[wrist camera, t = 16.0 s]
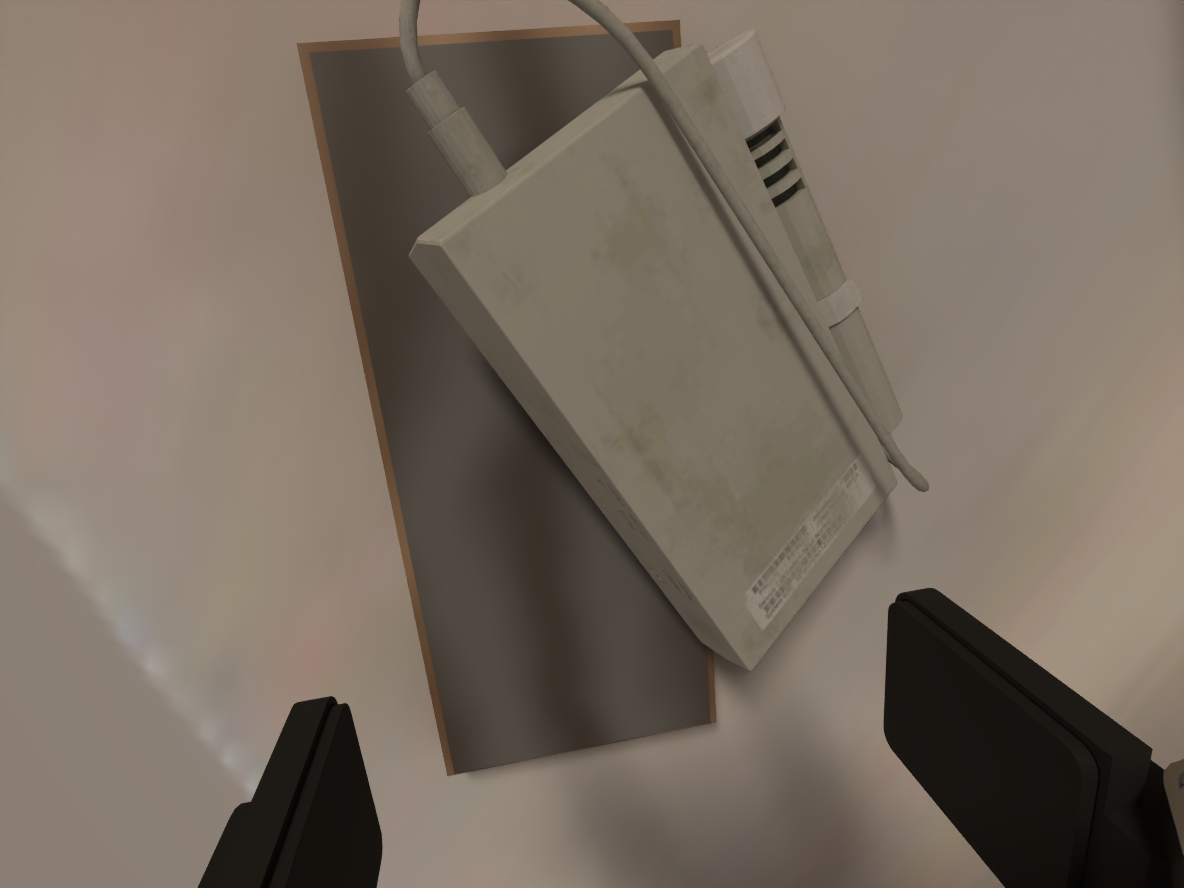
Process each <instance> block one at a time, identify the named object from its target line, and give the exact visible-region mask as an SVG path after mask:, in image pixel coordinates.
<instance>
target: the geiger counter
mask: <svg viewBox="0 0 1184 888" xmlns="http://www.w3.org/2000/svg"><path fill="white" fill-rule="evenodd" d="M568 1H570V2H572V3H573V4H575V5H576V6H577V7H578V8H580V9H581V10H582V11H584V12H585V13H586V14H588V15H589V16H590V17H592V18H593V19H594V20H596V21H597V22H598V23H599V24H600V25H601V26H602V27H603V28H604V29H605V30H606V31H607V32H608V33H609V34H610V35H611V36H612V37H613V38H614V39H615V40H616V41H617V42H618V43H619V44H620V45H621V46H622V47H623V48H624V49H625V51H626V52H627V53H628V54H629V56H630V57H631V58H632V60H633V61H634V62H635V63H636V65H637V66H638V67H639V68H640V70H639V71H637V72H636V73H635V74H633V75H632V76H631V77H629V78H628V79H627V80H625V81H624V82H623V83H621V84H620V85H619V86H618V87H616V88H615V89H614V90H612V91H611V92H610V93H608V94H607V95H606V96H604V97H603V98H602V99H600V100H599V101H598V102H596V103H595V104H594V105H592V106H591V107H590V108H588V109H587V110H586V111H584V112H583V113H582V114H580V115H579V116H578V117H576V118H575V119H574V120H572V121H571V122H570V123H568V124H567V125H566V126H565V127H563V128H562V129H561V130H559V131H558V132H557V133H555V134H554V135H553V136H551V137H550V138H549V139H547V140H546V141H545V142H543V143H542V144H541V145H539V146H538V147H537V148H535V149H534V150H533V151H531V152H530V153H529V154H527V155H526V156H525V157H523V158H522V159H521V160H519V161H518V162H517V163H516V164H514V165H513V166H512V167H510V168H509V169H508V170H505V169H504V167H503V166H502V164H501V163H500V161H499V159H498V158H497V156H496V155H495V153H494V152H493V150H492V148H491V147H490V145H489V144H488V142H487V141H486V139H485V137H484V136H483V134H482V133H481V131H480V130H479V128H478V126H477V125H476V123H475V122H474V120H473V119H472V117H471V115H470V114H469V112H468V111H467V109H466V108H465V107H463V108H461V109H460V107H459V106H458V104H457V103H456V101H455V99H454V98H453V96H452V95H451V93H450V92H449V90H448V88H447V87H446V85H445V84H444V82H443V81H442V79H441V78H440V76H439V74H438V73H437V71H433V72H431V73H429V74H428V75H426V73H425V70H424V68H423V65H422V62H421V58H420V55H419V51H418V44H417V17H418V10H419V4H420V0H402V2H401V9H400V16H399V29H400V48H401V52H402V55H403V59H404V62H405V66H406V69H407V72H408V74H409V77H410V79H411V81H412V83H413V86H411V87H410V88H409V89H408V90H407V91H406V93H405V94H406V95H407V97H408V98H409V100H410V101H411V102H412V104H413V105H414V107H415V108H416V110H417V111H418V113H419V114H420V116H421V117H422V119H423V120H424V122H425V123H426V125H427V126H428V128H429V129H430V132H428V134H427V135H428V136H429V138H430V139H431V141H432V142H433V144H434V145H435V147H436V148H437V150H438V151H439V153H440V154H441V156H442V157H443V159H444V160H445V162H446V163H447V165H448V166H449V168H450V169H451V170H452V172H453V173H454V175H455V176H456V178H457V179H458V181H459V182H460V184H461V185H462V187H463V188H464V190H465V191H466V193H467V194H468V196H469V197H470V198H469V199H468V200H466V201H465V202H464V203H463V204H461V205H460V206H459V207H457V208H456V209H455V210H453V211H452V212H451V213H449V214H448V215H447V216H445V217H444V218H443V219H441V220H440V221H439V222H437V223H436V224H435V225H433V226H432V227H431V228H429V229H428V230H427V231H425V232H424V233H423V234H421V235H420V236H419V237H418V238H417V240H416V242H415V244H414V246H413V248H412V250H411V251H410V253H409V258H410V259H411V261H412V262H413V263H414V264H415V266H416V267H417V268H418V270H419V271H420V272H421V274H422V275H423V276H424V278H425V279H426V280H427V282H428V283H429V284H430V286H431V287H432V288H433V290H434V291H435V292H436V294H437V295H438V296H439V297H440V299H441V300H442V301H443V303H444V304H445V305H446V307H447V308H448V309H449V311H450V312H451V313H452V315H453V316H454V317H455V319H456V320H457V321H458V323H459V324H460V325H461V326H462V328H463V329H464V330H465V332H466V333H467V334H468V336H469V337H470V338H471V340H472V341H473V342H474V344H475V345H476V346H477V348H478V349H479V350H480V352H481V353H482V354H483V355H484V357H485V358H486V359H487V361H488V362H489V363H490V365H491V366H492V367H493V369H494V370H495V371H496V373H497V374H498V375H499V377H500V378H501V379H502V381H503V382H504V383H505V384H506V386H507V387H508V388H509V390H510V391H511V392H512V394H513V395H514V396H515V398H516V399H517V400H518V402H519V403H520V404H521V406H522V407H523V408H524V410H525V411H526V412H527V413H528V415H529V416H530V417H531V419H532V420H533V421H534V423H535V424H536V425H537V427H538V428H539V429H540V431H541V432H542V433H543V435H544V436H545V437H546V439H547V440H548V441H549V443H550V444H551V445H552V446H553V448H554V449H555V450H556V452H557V453H558V454H559V456H560V457H561V458H562V460H563V461H564V462H565V464H566V465H567V466H568V468H569V469H570V470H571V472H572V473H573V474H574V475H575V477H576V478H577V479H578V481H579V482H580V483H581V485H582V486H583V487H584V489H585V490H586V491H587V493H588V494H589V495H590V497H591V498H592V499H593V501H594V502H595V503H596V504H597V506H598V507H599V508H600V510H601V511H602V512H603V514H604V515H605V516H606V518H607V519H608V520H609V522H610V523H611V524H612V526H613V527H614V528H615V530H616V531H617V532H618V533H619V535H620V536H621V537H622V539H623V540H624V541H625V543H626V544H627V545H628V547H629V548H630V549H631V551H632V552H633V553H634V555H635V556H636V557H637V559H638V560H639V561H640V562H641V564H642V565H643V566H644V568H645V569H646V570H647V572H648V573H649V574H650V576H651V577H652V578H653V580H654V581H655V582H656V584H657V585H658V586H659V588H660V589H661V590H662V591H663V593H664V594H665V595H666V597H667V598H668V599H669V601H670V602H671V603H672V605H673V606H674V607H675V609H676V610H677V611H678V613H679V614H680V615H681V617H682V618H683V619H684V621H685V622H686V623H687V624H688V626H689V627H690V628H691V630H692V631H693V632H694V634H695V635H696V636H697V638H698V639H699V640H700V641H701V642H702V643H703V644H705V645H706V646H708V647H709V648H711V649H712V650H713V651H715V652H716V653H718V654H719V655H721V656H722V657H723V658H725V659H726V660H728V661H730V662H732V663H734V664H736V665H738V666H740V667H742V668H744V669H746V670H748V671H752V670H753V669H754V668H755V666H756V665H757V664H758V663H759V661H760V660H761V659H762V657H763V656H764V655H765V654H766V652H767V651H768V650H769V648H770V647H771V646H772V645H773V643H774V642H775V641H776V639H777V638H778V637H779V636H780V634H781V633H782V632H783V630H784V629H785V628H786V627H787V625H788V624H789V623H790V621H791V620H792V619H793V618H794V616H795V615H796V614H797V612H798V611H799V610H800V609H801V607H802V606H803V605H804V603H805V602H806V601H807V600H808V598H809V597H810V596H811V594H812V593H813V592H814V591H815V589H816V588H817V587H818V585H819V584H820V583H821V581H822V580H823V579H824V578H825V576H826V575H827V574H828V572H829V571H830V570H831V569H832V567H833V566H834V565H835V563H836V562H837V561H838V560H839V558H840V557H841V556H842V554H843V553H844V552H845V551H846V549H847V548H848V547H849V545H850V544H851V543H852V542H853V540H854V539H855V538H856V536H857V535H858V534H859V533H860V531H861V530H862V529H863V527H864V526H865V525H866V524H867V522H868V521H869V520H870V518H871V517H872V516H873V515H874V513H875V512H876V511H877V509H878V508H879V507H880V506H881V504H882V503H883V502H884V500H885V499H886V498H887V497H888V495H889V494H890V493H891V491H892V490H893V489H894V487H895V486H896V485H897V480H896V478H895V476H894V473H893V471H892V469H891V467H890V464H889V462H890V463H891V464H893V465H894V466H895V467H896V468H898V469H899V470H900V471H901V473H902V474H903V475H904V477H905V478H906V479H907V480H908V481H909V482H910V483H911V485H912V486H913V487H915V488H916V489H917V490H919V491H921V492H926V491H928V489H929V484H928V482H927V480H926V479H925V478H924V477H923V476H922V475H921V474H920V473H919V472H918V471H917V470H916V469H914V468H913V467H912V466H911V465H910V464H909V463H908V462H907V460H906V459H905V457H904V456H903V455H902V453H901V452H900V450H899V449H898V447H897V446H896V444H895V442H894V441H893V439H892V438H891V436H890V434H889V432H891V431H893V430H894V429H895V428H896V427H897V426H898V425H899V423H900V422H901V420H902V412H901V410H900V407H899V405H898V403H897V400H896V398H895V395H894V393H893V391H892V388H891V386H890V383H889V381H888V378H887V376H886V374H885V371H884V369H883V366H882V364H881V362H880V359H879V357H878V354H877V352H876V349H875V347H874V345H873V342H872V340H871V337H870V335H869V332H868V330H867V328H866V325H865V323H864V320H863V318H862V316H861V313H860V311H859V308H858V305H859V304H860V303H861V302H862V295H861V291H860V289H859V286H858V284H857V283H856V281H855V280H853V279H850V280H847V279H846V277H845V274H844V272H843V270H842V267H841V265H840V262H839V260H838V257H837V255H836V253H835V250H834V248H833V245H832V243H831V241H830V238H829V236H828V233H827V231H826V228H825V226H824V224H823V221H822V219H821V216H820V214H819V212H818V209H817V207H816V204H815V202H814V199H813V197H812V195H811V192H810V190H809V187H808V185H807V182H806V180H805V178H804V175H803V173H802V170H801V168H800V166H799V163H798V161H797V158H796V156H795V153H794V151H793V149H792V146H791V144H790V141H789V139H788V137H787V134H786V132H785V129H784V127H783V124H782V122H781V120H780V117H779V115H780V114H781V113H782V112H783V111H784V110H785V108H786V105H785V102H784V100H783V97H782V95H781V92H780V90H779V87H778V85H777V82H776V80H775V77H774V75H773V72H772V70H771V67H770V65H769V63H768V60H767V58H766V55H765V53H764V50H763V48H762V45H761V43H760V40H759V38H758V35H757V33H756V31H755V30H753V29H750V30H748V31H745V32H744V33H742V34H740V35H738V36H736V37H734V38H733V39H731V40H729V41H728V42H726V43H725V44H723V45H721V46H720V47H718V48H717V49H715V50H714V51H712V52H711V53H709V54H708V55H707V54H706V52H705V49H704V47H703V45H702V44H701V43H695V44H691V45H687V46H683V47H679V48H675V49H671V50H667V51H664V52H663V53H661V54H660V55H659V56H657V57H656V58H655V59H652V58H651V57H650V55H649V54H648V53H647V51H646V50H645V49H644V48H643V46H642V45H641V44H640V42H639V41H638V40H637V38H636V37H635V36H634V35H633V33H632V32H631V31H630V30H629V29H628V28H627V27H626V26H625V25H624V24H623V23H622V22H621V21H620V20H619V19H618V18H617V17H616V16H615V15H614V14H613V13H612V12H611V11H610V10H609V9H608V8H607V7H606V6H605V5H604V4H602V3H601V2H600V1H599V0H568ZM888 461H889V462H888Z"/></svg>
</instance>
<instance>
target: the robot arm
mask: <svg viewBox="0 0 1184 888" xmlns="http://www.w3.org/2000/svg"><path fill="white" fill-rule="evenodd" d="M884 733H885V737H886V740H887V742H888V744H889V746H890V748H891V749H892V750H893V752H894V753H895V754H896V755H897V757H898V758H899V759H900V760H901V762H902V763H903V764H904V765H905V766H906V768H907V769H908V770H909V771H910V772H911V774H912V775H913V776H914V777H915V779H916V780H917V781H918V782H919V783H920V785H921V786H922V787H923V788H924V789H925V791H926V792H927V793H928V794H929V796H930V797H931V798H932V799H933V800H934V802H935V803H936V804H937V805H938V806H939V808H940V809H941V810H942V811H943V813H944V814H945V815H946V816H947V817H948V819H949V820H950V821H951V822H952V824H953V825H954V826H955V827H956V828H957V830H958V831H959V832H960V833H961V834H962V836H963V837H964V838H965V839H966V841H967V842H968V843H969V844H970V845H971V847H972V848H973V849H974V850H975V851H976V853H977V854H978V855H979V856H980V858H981V859H982V860H983V861H984V862H985V864H986V865H987V866H988V867H989V868H990V870H991V871H992V872H993V873H994V875H995V876H996V877H997V878H998V879H999V881H1000V882H1001V883H1002V884H1003V885H1004V887H1005V888H1184V759H1183V760H1180V761H1177V762H1174V763H1171V764H1170V765H1169V766H1168V767H1167V768H1166V769H1165V770H1164V769H1162V768H1161V767H1160V766H1158V765H1157V764H1156V763H1154V762H1153V761H1152V760H1151V754H1152V748H1151V747H1149V746H1148V745H1146V744H1145V743H1144V742H1142V741H1141V740H1140V739H1138V738H1137V737H1136V736H1134V735H1133V734H1132V733H1130V732H1129V731H1128V730H1126V729H1125V728H1123V727H1122V726H1121V725H1119V724H1118V723H1117V722H1115V721H1114V720H1113V719H1111V718H1110V717H1109V716H1107V715H1106V714H1104V713H1103V712H1102V711H1100V710H1099V709H1098V708H1096V707H1095V706H1094V705H1092V704H1091V703H1090V702H1088V701H1087V700H1085V699H1084V698H1083V697H1081V696H1080V695H1079V694H1077V693H1076V692H1075V691H1073V690H1072V689H1071V688H1069V687H1068V686H1067V685H1065V684H1064V683H1062V682H1061V681H1060V680H1058V679H1057V678H1056V677H1054V676H1053V675H1052V674H1050V673H1049V672H1048V671H1046V670H1045V669H1043V668H1042V667H1041V666H1039V665H1038V664H1037V663H1035V662H1034V661H1033V660H1031V659H1030V658H1029V657H1027V656H1026V655H1025V654H1023V653H1022V652H1020V651H1019V650H1018V649H1016V648H1015V647H1014V646H1012V645H1011V644H1010V643H1008V642H1007V641H1006V640H1004V639H1003V638H1001V637H1000V636H999V635H997V634H996V633H995V632H993V631H992V630H991V629H989V628H988V627H987V626H985V625H984V624H983V623H981V622H980V621H978V620H977V619H976V618H974V617H973V616H972V615H970V614H969V613H968V612H966V611H965V610H964V609H962V608H961V607H959V606H958V605H957V604H955V603H954V602H953V601H951V600H950V599H949V598H947V597H946V596H945V595H943V594H942V593H941V592H939V591H938V590H936V589H934V588H926V589H920V590H915V591H909V592H904V593H900V594H899V595H898V596H897V598H896V600H895V603H892V604H891V605H890V606H889V610H888V629H887V654H886V678H885V703H884ZM381 859H382V834H381V829H380V825H379V821H378V817H377V813H376V809H375V805H374V801H373V798H372V794H371V790H370V786H369V782H368V778H367V774H366V770H365V766H364V762H363V758H362V754H361V750H360V746H359V742H358V738H357V734H356V730H355V726H354V722H353V718H352V714H351V711H350V708H349V706H348V704H346V703H344V704H338V703H337V701H336V699H335V698H334V697H332V696H330V697H324V698H319V699H313V700H308V701H302V702H297V703H295V704H294V705H293V707H292V709H291V711H290V713H289V716H288V718H287V720H286V722H285V725H284V727H283V729H282V732H281V734H280V736H279V739H278V741H277V743H276V746H275V748H274V750H273V752H272V755H271V757H270V759H269V762H268V764H267V766H266V769H265V771H264V773H263V776H262V778H261V780H260V782H259V785H258V787H257V789H256V792H255V794H254V796H253V799H252V801H251V802H247V803H242V804H240V805H239V806H238V807H237V808H235V810H234V812H233V813H232V815H231V817H230V819H229V820H228V823H227V825H226V827H225V829H224V831H223V834H222V836H221V838H220V840H219V842H218V844H217V847H216V849H215V851H214V853H213V856H212V858H211V860H210V862H209V864H208V866H207V868H206V871H205V873H204V875H203V877H202V879H201V881H200V884H199V886H198V888H377V882H378V876H379V871H380V865H381Z"/></svg>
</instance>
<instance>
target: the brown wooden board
mask: <svg viewBox="0 0 1184 888" xmlns="http://www.w3.org/2000/svg"><path fill="white" fill-rule="evenodd" d="M623 24H624V25H625V26H626V27H627V28H628V29H629V30H630V31H631V32H632V33H633V35H634V36H635V37H636V38H637V40H638V41H639V42H640V44H641V45H642V46H643V48H644V49H645V50H646V51H647V53H648V54H649V55H650V57H651V58H652V59H655V58H656V57H657V56H659V55H660V54H661V53H663V52H664V51H667V50H671V49H675V48H679V47H681V36H680V20H672V21H655V22H639V23H623ZM417 44H418V51H419V55H420V58H421V62H422V65H423V68H424V70H425V73H426V75H428V74H429V73H431V72H433V71H437V73H438V74H439V76H440V78H441V79H442V81H443V82H444V84H445V85H446V87H447V88H448V90H449V92H450V93H451V95H452V96H453V98H454V99H455V101H456V103H457V104H458V106H459V107H460V109H461V108H463V107H465V108H466V109H467V111H468V112H469V114H470V115H471V117H472V119H473V120H474V122H475V123H476V125H477V126H478V128H479V130H480V131H481V133H482V134H483V136H484V137H485V139H486V141H487V142H488V144H489V145H490V147H491V148H492V150H493V152H494V153H495V155H496V156H497V158H498V159H499V161H500V163H501V164H502V166H503V167H504V169H505V170H508V169H509V168H510V167H512V166H513V165H514V164H516V163H517V162H518V161H519V160H521V159H522V158H523V157H525V156H526V155H527V154H529V153H530V152H531V151H533V150H534V149H535V148H537V147H538V146H539V145H541V144H542V143H543V142H545V141H546V140H547V139H549V138H550V137H551V136H553V135H554V134H555V133H557V132H558V131H559V130H561V129H562V128H563V127H565V126H566V125H567V124H568V123H570V122H571V121H572V120H574V119H575V118H576V117H578V116H579V115H580V114H582V113H583V112H584V111H586V110H587V109H588V108H590V107H591V106H592V105H594V104H595V103H596V102H598V101H599V100H600V99H602V98H603V97H604V96H606V95H607V94H608V93H610V92H611V91H612V90H614V89H615V88H616V87H618V86H619V85H620V84H621V83H623V82H624V81H625V80H627V79H628V78H629V77H631V76H632V75H633V74H635V73H636V72H637V71H639V70H640V68H639V67H638V66H637V65H636V63H635V62H634V61H633V60H632V58H631V57H630V56H629V54H628V53H627V52H626V51H625V49H624V48H623V47H622V46H621V45H620V44H619V43H618V42H617V41H616V40H615V39H614V38H613V37H612V36H611V35H610V34H609V33H608V32H607V31H606V30H605V29H604V28H603V27H602V26H601V25H590V26H574V27H557V28H541V29H525V30H509V31H492V32H476V33H460V34H443V35H427V36H417ZM297 47H298V52H299V57H300V62H301V66H302V71H303V76H304V81H305V86H306V91H307V96H308V100H309V105H310V110H311V115H312V120H313V125H314V130H315V134H316V139H317V144H318V149H319V154H320V159H321V164H322V168H323V173H324V178H325V183H326V188H327V193H328V198H329V202H330V207H331V212H332V217H333V222H334V227H335V232H336V237H337V241H338V246H339V251H340V256H341V261H342V266H343V271H344V275H345V280H346V285H347V290H348V295H349V300H350V305H351V309H352V314H353V319H354V324H355V329H356V334H357V339H358V343H359V348H360V353H361V358H362V363H363V368H364V373H365V378H366V382H367V387H368V392H369V397H370V402H371V407H372V412H373V416H374V421H375V426H376V431H377V436H378V441H379V446H380V450H381V455H382V460H383V465H384V470H385V475H386V480H387V484H388V489H389V494H390V499H391V504H392V509H393V514H394V519H395V523H396V528H397V533H398V538H399V543H400V548H401V553H402V557H403V562H404V567H405V572H406V577H407V582H408V587H409V591H410V596H411V601H412V606H413V611H414V616H415V621H416V625H417V630H418V635H419V640H420V645H421V650H422V655H423V660H424V664H425V669H426V674H427V679H428V684H429V689H430V694H431V698H432V703H433V708H434V713H435V718H436V723H437V728H438V732H439V737H440V742H441V747H442V752H443V757H444V762H445V766H446V771H447V776H451V775H456V774H461V773H466V772H471V771H476V770H481V769H486V768H491V767H496V766H501V765H506V764H511V763H516V762H520V761H525V760H530V759H535V758H540V757H545V756H550V755H555V754H560V753H565V752H570V751H575V750H580V749H585V748H590V747H595V746H600V745H605V744H610V743H615V742H620V741H625V740H630V739H635V738H640V737H645V736H650V735H655V734H660V733H665V732H670V731H675V730H680V729H685V728H690V727H695V726H700V725H705V724H710V723H715V722H716V709H715V690H714V670H713V651H712V649H711V648H709V647H708V646H706V645H705V644H703V643H702V642H701V641H700V640H699V639H698V638H697V636H696V635H695V634H694V632H693V631H692V630H691V628H690V627H689V626H688V624H687V623H686V622H685V621H684V619H683V618H682V617H681V615H680V614H679V613H678V611H677V610H676V609H675V607H674V606H673V605H672V603H671V602H670V601H669V599H668V598H667V597H666V595H665V594H664V593H663V591H662V590H661V589H660V588H659V586H658V585H657V584H656V582H655V581H654V580H653V578H652V577H651V576H650V574H649V573H648V572H647V570H646V569H645V568H644V566H643V565H642V564H641V562H640V561H639V560H638V559H637V557H636V556H635V555H634V553H633V552H632V551H631V549H630V548H629V547H628V545H627V544H626V543H625V541H624V540H623V539H622V537H621V536H620V535H619V533H618V532H617V531H616V530H615V528H614V527H613V526H612V524H611V523H610V522H609V520H608V519H607V518H606V516H605V515H604V514H603V512H602V511H601V510H600V508H599V507H598V506H597V504H596V503H595V502H594V501H593V499H592V498H591V497H590V495H589V494H588V493H587V491H586V490H585V489H584V487H583V486H582V485H581V483H580V482H579V481H578V479H577V478H576V477H575V475H574V474H573V473H572V472H571V470H570V469H569V468H568V466H567V465H566V464H565V462H564V461H563V460H562V458H561V457H560V456H559V454H558V453H557V452H556V450H555V449H554V448H553V446H552V445H551V444H550V443H549V441H548V440H547V439H546V437H545V436H544V435H543V433H542V432H541V431H540V429H539V428H538V427H537V425H536V424H535V423H534V421H533V420H532V419H531V417H530V416H529V415H528V413H527V412H526V411H525V410H524V408H523V407H522V406H521V404H520V403H519V402H518V400H517V399H516V398H515V396H514V395H513V394H512V392H511V391H510V390H509V388H508V387H507V386H506V384H505V383H504V382H503V381H502V379H501V378H500V377H499V375H498V374H497V373H496V371H495V370H494V369H493V367H492V366H491V365H490V363H489V362H488V361H487V359H486V358H485V357H484V355H483V354H482V353H481V352H480V350H479V349H478V348H477V346H476V345H475V344H474V342H473V341H472V340H471V338H470V337H469V336H468V334H467V333H466V332H465V330H464V329H463V328H462V326H461V325H460V324H459V323H458V321H457V320H456V319H455V317H454V316H453V315H452V313H451V312H450V311H449V309H448V308H447V307H446V305H445V304H444V303H443V301H442V300H441V299H440V297H439V296H438V295H437V294H436V292H435V291H434V290H433V288H432V287H431V286H430V284H429V283H428V282H427V280H426V279H425V278H424V276H423V275H422V274H421V272H420V271H419V270H418V268H417V267H416V266H415V264H414V263H413V262H412V261H411V259H410V258H409V253H410V251H411V250H412V248H413V246H414V244H415V242H416V240H417V238H418V237H419V236H420V235H421V234H423V233H424V232H425V231H427V230H428V229H429V228H431V227H432V226H433V225H435V224H436V223H437V222H439V221H440V220H441V219H443V218H444V217H445V216H447V215H448V214H449V213H451V212H452V211H453V210H455V209H456V208H457V207H459V206H460V205H461V204H463V203H464V202H465V201H466V200H468V199H469V198H470V197H469V196H468V194H467V193H466V191H465V190H464V188H463V187H462V185H461V184H460V182H459V181H458V179H457V178H456V176H455V175H454V173H453V172H452V170H451V169H450V168H449V166H448V165H447V163H446V162H445V160H444V159H443V157H442V156H441V154H440V153H439V151H438V150H437V148H436V147H435V145H434V144H433V142H432V141H431V139H430V138H429V136H428V135H427V134H428V132H430V129H429V128H428V126H427V125H426V123H425V122H424V120H423V119H422V117H421V116H420V114H419V113H418V111H417V110H416V108H415V107H414V105H413V104H412V102H411V101H410V100H409V98H408V97H407V95H406V94H405V93H406V91H407V90H408V89H409V88H410V87H411V86H413V83H412V81H411V79H410V77H409V74H408V72H407V69H406V66H405V62H404V59H403V55H402V52H401V48H400V37H394V38H378V39H362V40H345V41H329V42H313V43H297Z"/></svg>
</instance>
